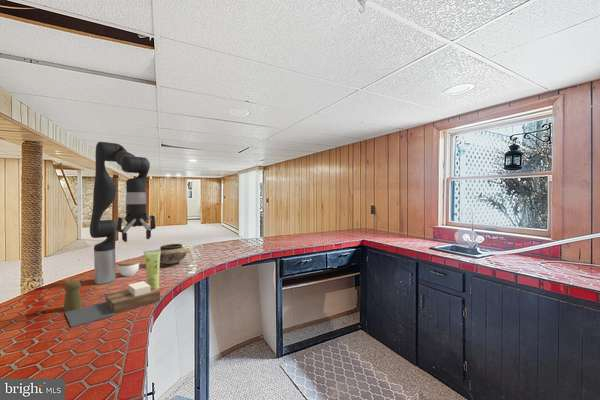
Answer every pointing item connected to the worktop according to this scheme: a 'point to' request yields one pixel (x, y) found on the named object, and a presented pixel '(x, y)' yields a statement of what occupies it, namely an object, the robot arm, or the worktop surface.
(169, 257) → the ceramic bowl
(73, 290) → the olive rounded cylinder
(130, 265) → the lidded jar
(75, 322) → the charcoal mat
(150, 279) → the tube
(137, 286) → the ivory card box
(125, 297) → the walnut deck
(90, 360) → the worktop surface
